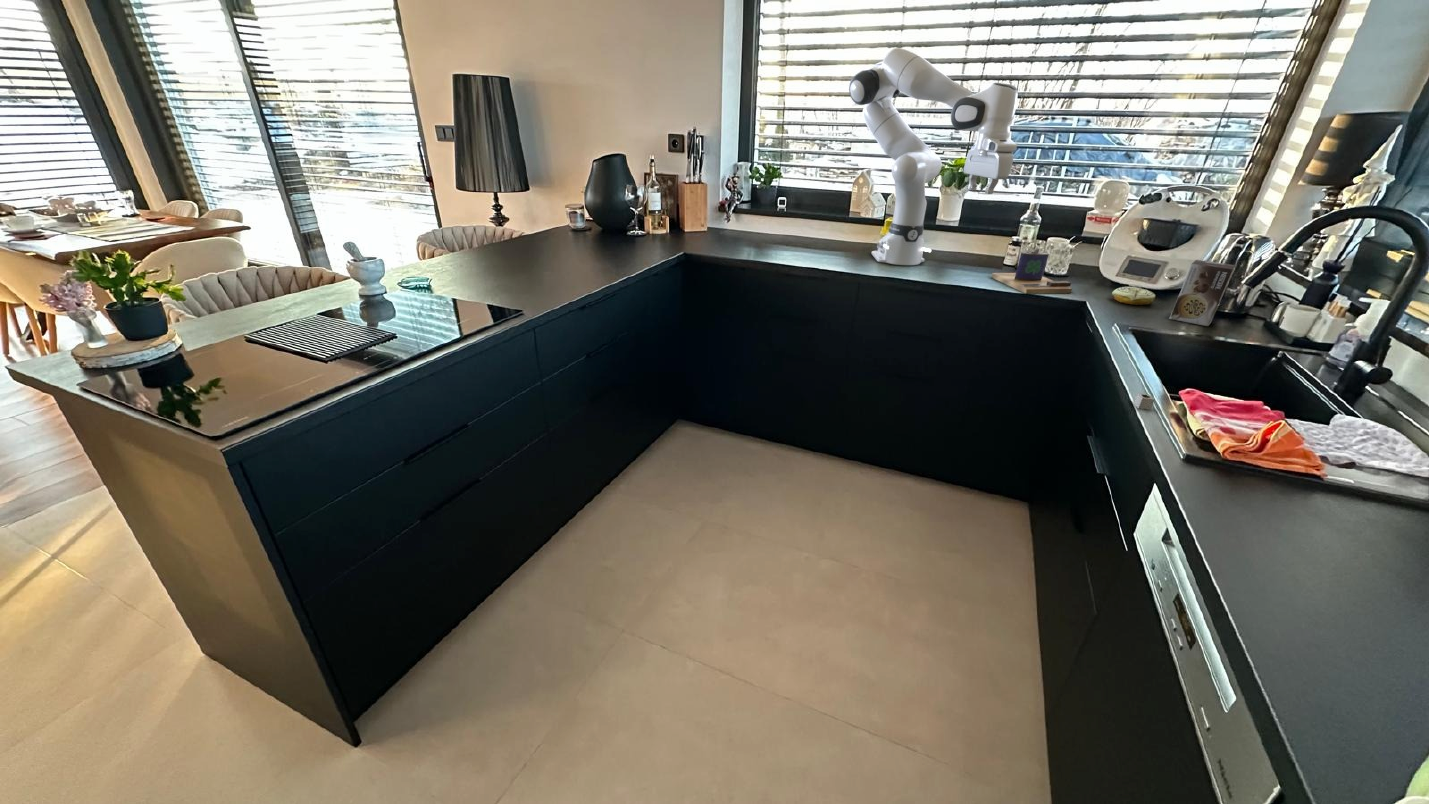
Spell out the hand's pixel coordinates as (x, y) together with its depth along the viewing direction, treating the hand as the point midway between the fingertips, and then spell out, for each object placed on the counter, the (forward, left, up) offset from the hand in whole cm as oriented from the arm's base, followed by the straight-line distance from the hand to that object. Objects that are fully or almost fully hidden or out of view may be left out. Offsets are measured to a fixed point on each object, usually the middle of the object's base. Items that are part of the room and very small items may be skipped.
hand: (980, 191), depth 176 cm
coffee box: (+42, +47, -29) cm, 69 cm away
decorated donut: (+24, +44, -29) cm, 58 cm away
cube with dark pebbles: (+90, -10, -29) cm, 95 cm away
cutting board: (+4, +23, -29) cm, 37 cm away
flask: (+3, +23, -28) cm, 36 cm away
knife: (+10, +23, -28) cm, 37 cm away
